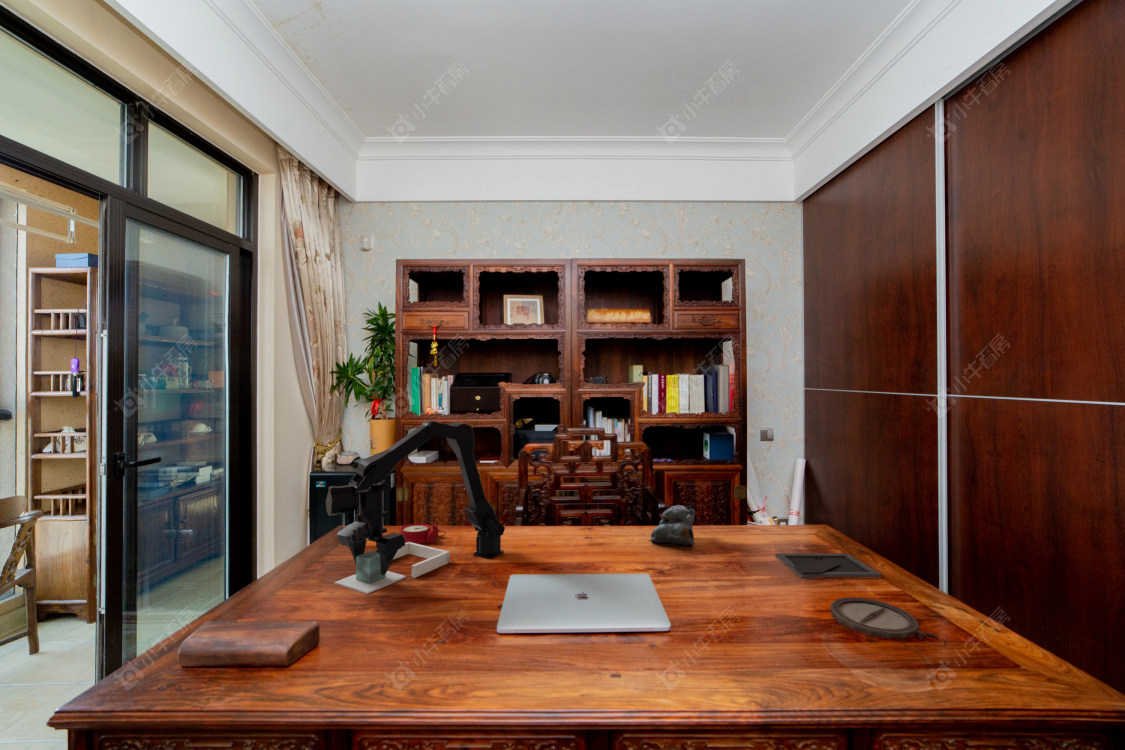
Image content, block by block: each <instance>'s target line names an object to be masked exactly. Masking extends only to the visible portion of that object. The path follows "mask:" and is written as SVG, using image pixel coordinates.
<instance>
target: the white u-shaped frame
mask: <svg viewBox="0 0 1125 750" xmlns="http://www.w3.org/2000/svg"><path fill="white" fill-rule="evenodd" d="M406 555H411V556H416V557H420V558H424V560H422V561H419V562H417V563H414V564H412V565H411V578H413V579H415V578H417V577H420V576H422V575H424V574H426V573H430V572H431V571H433V570H435V569H438V568H440V567H443V566H444V565H447V564H449V563H451V562H450V560H451V559H450V558H451V557H450V555H451V553H450V551H448V550H444V549H440V548H436V547H432V546H427V545H424V544H415V543H411V542H407V543H405V546H403V547H402V548H401V549H398V551H397V553H396V554H395V556H394V558H393V560H395V559H399V558H401V557H403V556H406Z"/></svg>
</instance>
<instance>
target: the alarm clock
mask: <svg viewBox="0 0 1125 750" xmlns="http://www.w3.org/2000/svg"><path fill="white" fill-rule="evenodd" d="M398 529H399V531H400V533H398V534H402V535H403V536H404V537H405V543H407V542H411V543H415V544H420V545H424V544H426V543H428V545H429V544H434V543H435V542H436V540H437V538H438V537H443V536H445V535H446V534H447V532H446V531H445V530H441V529H439V527H438V524H435V523H434V524H432V527H431V525H429V524H427V523H411V524H405V525H403V526H401V527H400V526H399V527H398ZM439 532H440V533H441V532H443V533H444V534H441V535H439Z"/></svg>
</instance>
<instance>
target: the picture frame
mask: <svg viewBox="0 0 1125 750" xmlns="http://www.w3.org/2000/svg"><path fill="white" fill-rule="evenodd" d="M776 557H777V558H776ZM775 558H776V559H777V560H779V559H780V560H781V561H782V562H781V561H780V560H779V561H780V562H781V563H782V564H784V563H785V564H786V565H787V566H788V567H787V566H786V565H785V564H784V565H785V566H786V567H787V568H789V567H790V568H791V569H792V570H793V571H792V570H791V569H790V568H789V569H790V570H791V571H792V572H794V573H795V574H796V573H797V574H798V575H799V576H798V575H797V574H796V575H797V576H798V577H800V578H801V577H802V578H801V579H815V578H814V577H869V578H868V579H871V578H870V577H876V578H875V579H882V578H881V577H882V573H880V572H879V571H877V570H875V569H874V568H872V567H871V566H869V565H868V564H865V563H864V562H862V561H860V560H859V559H857V558H856V557H854V556H852V555H851V554H849V553H846V552H845V553H837V552H835V553H827V552H825V553H823V552H820V553H813V552H810V553H807V552H805V553H800V552H799V553H794V552H793V553H789V552H788V553H787V552H785V553H783V552H782V553H781V552H779V553H777V552H776V553H775ZM811 577H813V578H811ZM878 577H880V578H878Z"/></svg>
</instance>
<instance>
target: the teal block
mask: <svg viewBox="0 0 1125 750" xmlns="http://www.w3.org/2000/svg"><path fill="white" fill-rule="evenodd" d="M355 571H356V572H355V574H356V580H357V581H360V582H363V583H367V584H372V583H374V582H377V581H379V580H381V579H384V578H386V574H385V575H381V566H380V555H379V554H378V553H377V552H376V550H370V551H367V552H364V554H362V555H359V556H356V564H355Z"/></svg>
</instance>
